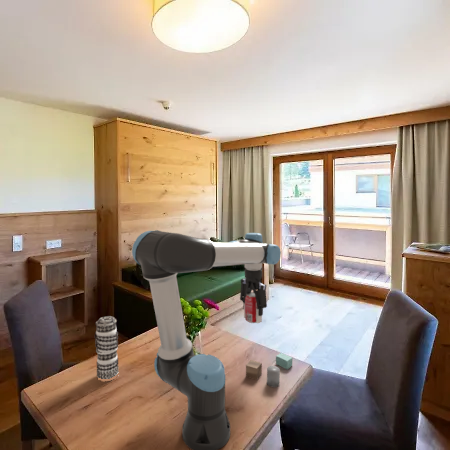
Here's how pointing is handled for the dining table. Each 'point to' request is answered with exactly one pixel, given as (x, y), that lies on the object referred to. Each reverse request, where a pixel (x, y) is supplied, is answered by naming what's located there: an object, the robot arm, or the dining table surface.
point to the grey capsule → (273, 376)
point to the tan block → (253, 369)
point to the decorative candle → (106, 347)
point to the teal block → (284, 360)
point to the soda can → (250, 308)
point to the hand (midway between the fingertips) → (252, 319)
